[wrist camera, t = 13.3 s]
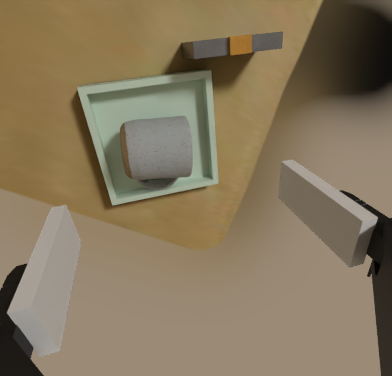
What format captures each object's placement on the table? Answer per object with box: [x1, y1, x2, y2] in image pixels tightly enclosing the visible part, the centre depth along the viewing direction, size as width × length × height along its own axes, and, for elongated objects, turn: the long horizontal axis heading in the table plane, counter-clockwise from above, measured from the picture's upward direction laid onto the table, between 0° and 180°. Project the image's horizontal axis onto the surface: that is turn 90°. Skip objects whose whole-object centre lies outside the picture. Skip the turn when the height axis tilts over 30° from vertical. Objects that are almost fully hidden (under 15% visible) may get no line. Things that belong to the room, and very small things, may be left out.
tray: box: [77, 69, 219, 205], centre depth 35 cm, size 16×16×2 cm
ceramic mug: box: [120, 116, 193, 189], centre depth 33 cm, size 11×8×8 cm
